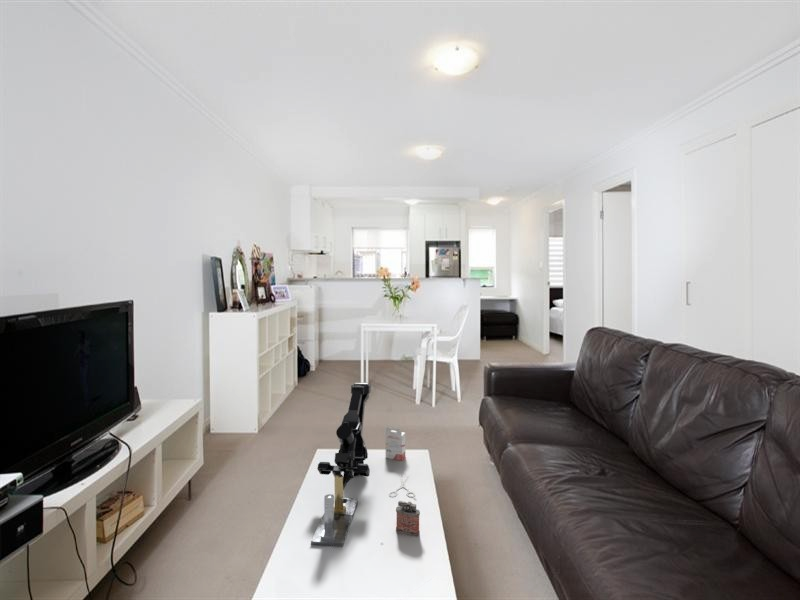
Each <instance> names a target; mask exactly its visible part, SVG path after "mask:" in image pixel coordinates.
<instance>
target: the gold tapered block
mask: <svg viewBox="0 0 800 600" xmlns="http://www.w3.org/2000/svg"><path fill="white" fill-rule="evenodd" d="M343 475H344V474H342V475H336V476H335V477H334V497H335V505H334V514H344V513H345V510H346V506H343V498H344V490H343Z"/></svg>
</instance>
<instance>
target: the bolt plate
mask: <svg viewBox="0 0 800 600" xmlns="http://www.w3.org/2000/svg"><path fill="white" fill-rule="evenodd" d="M323 499H324V500H323V501H324V503H323V507H324V509H323V511H324V512H323V515H322V516H321V520H320V521H319V523H318V525H317V527H316V530H315V532H314V534H313V536H312V538H311V540H310V545H311V546H318V547H319V546H320V547H321V546H322V547H323V546H324V547H333V548H336V547H337V548H343V547H344V544H345V541H346V537H347V534H348V532H349V528H350V526H351V523H352V519H353V517H354V514H355V511H356V508H357V505H358V502H359V499H358V498H351V497H343V506H346V510H345V513H344V514H334V505H335V494H332V493H330V494H325V495H324V498H323Z"/></svg>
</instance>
